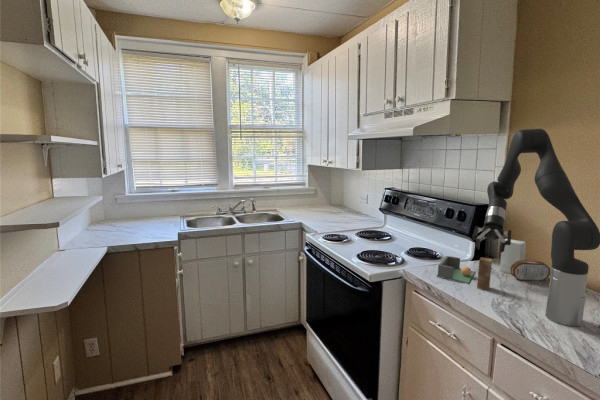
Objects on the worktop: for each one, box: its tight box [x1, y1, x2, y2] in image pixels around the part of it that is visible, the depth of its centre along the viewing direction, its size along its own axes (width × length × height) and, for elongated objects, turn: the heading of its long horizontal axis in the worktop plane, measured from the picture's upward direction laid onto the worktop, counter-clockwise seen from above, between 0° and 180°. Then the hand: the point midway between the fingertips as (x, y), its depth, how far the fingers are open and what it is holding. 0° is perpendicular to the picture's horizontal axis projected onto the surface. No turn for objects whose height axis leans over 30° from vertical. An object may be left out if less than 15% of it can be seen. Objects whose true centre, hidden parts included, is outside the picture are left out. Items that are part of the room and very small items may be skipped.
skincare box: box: [499, 238, 527, 275], centre depth 151 cm, size 8×6×15 cm
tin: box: [510, 260, 551, 282], centre depth 143 cm, size 15×3×8 cm, turn 84°
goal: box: [435, 255, 476, 284], centre depth 149 cm, size 13×16×5 cm
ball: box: [460, 266, 472, 276], centre depth 147 cm, size 4×4×4 cm
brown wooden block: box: [476, 256, 493, 291], centre depth 134 cm, size 4×4×12 cm
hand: (489, 250), depth 140 cm, fingers open, 8 cm apart
